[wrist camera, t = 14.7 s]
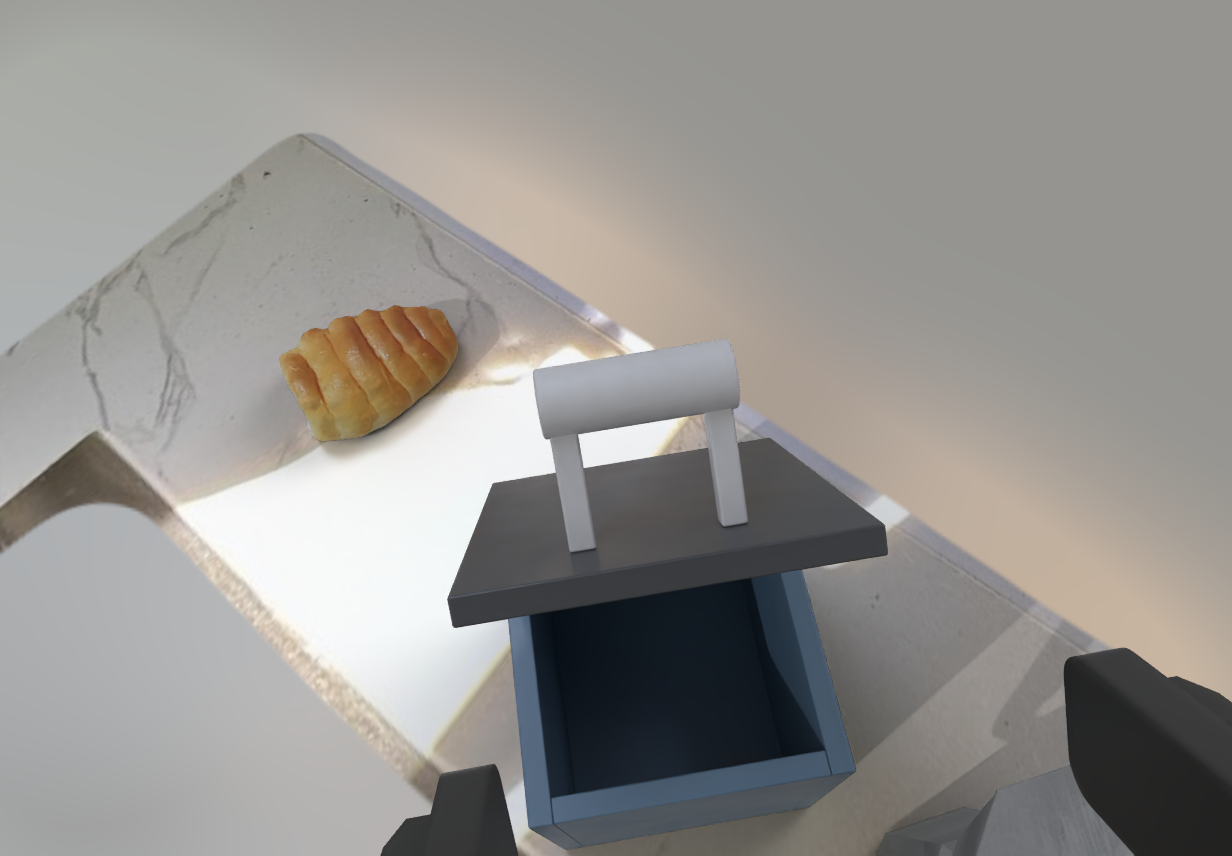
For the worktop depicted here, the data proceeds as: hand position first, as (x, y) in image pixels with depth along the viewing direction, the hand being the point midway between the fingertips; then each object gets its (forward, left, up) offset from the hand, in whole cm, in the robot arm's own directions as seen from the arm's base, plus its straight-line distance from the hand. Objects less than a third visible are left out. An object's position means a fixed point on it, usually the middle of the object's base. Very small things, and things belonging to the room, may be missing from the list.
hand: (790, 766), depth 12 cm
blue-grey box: (+3, -7, -28) cm, 29 cm away
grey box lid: (+3, -8, -12) cm, 15 cm away
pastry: (+21, -22, -28) cm, 41 cm away
